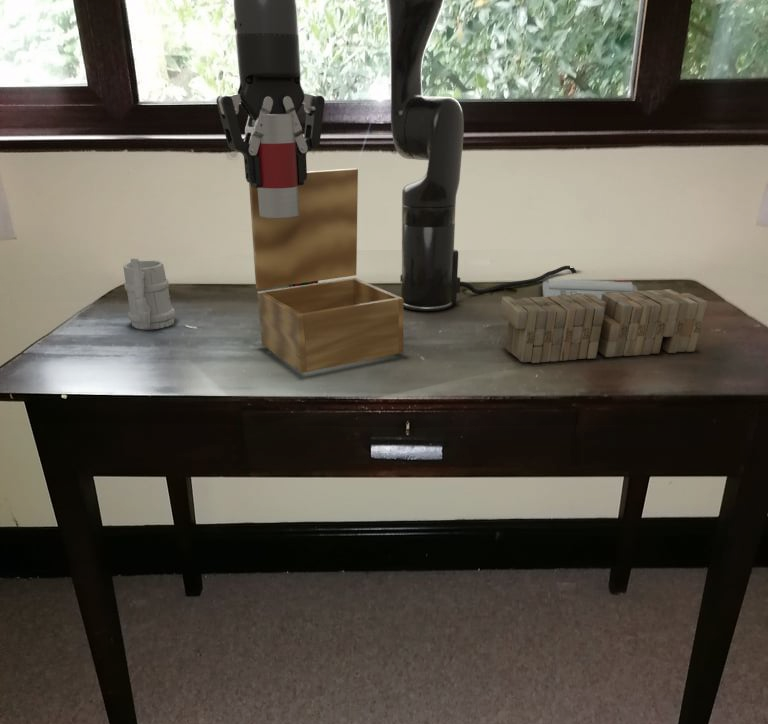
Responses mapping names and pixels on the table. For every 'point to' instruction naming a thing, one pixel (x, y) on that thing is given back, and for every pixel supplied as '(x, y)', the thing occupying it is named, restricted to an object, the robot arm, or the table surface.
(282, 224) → the lid
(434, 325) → the table surface
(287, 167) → the can
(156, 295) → the mug
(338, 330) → the chest
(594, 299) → the block tower
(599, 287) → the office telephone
